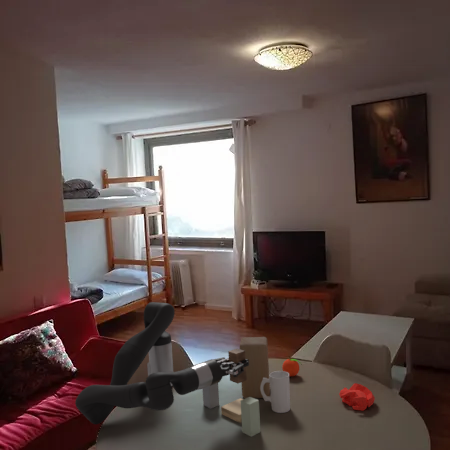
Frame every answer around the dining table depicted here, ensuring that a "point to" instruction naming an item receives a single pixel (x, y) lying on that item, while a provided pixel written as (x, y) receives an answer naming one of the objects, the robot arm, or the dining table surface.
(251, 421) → the sage post
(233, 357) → the walnut post
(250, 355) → the wooden block
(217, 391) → the grey post
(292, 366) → the clementine
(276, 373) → the mug
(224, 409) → the oak slab
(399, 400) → the dining table surface
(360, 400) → the animal figurine
